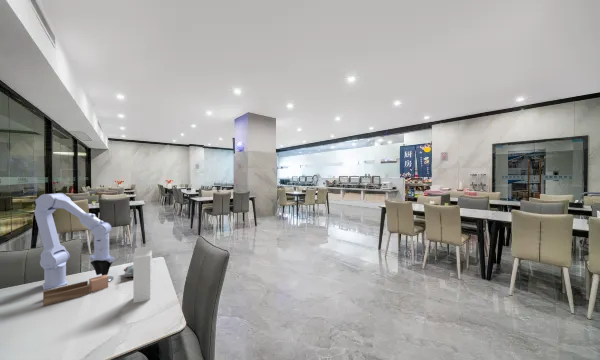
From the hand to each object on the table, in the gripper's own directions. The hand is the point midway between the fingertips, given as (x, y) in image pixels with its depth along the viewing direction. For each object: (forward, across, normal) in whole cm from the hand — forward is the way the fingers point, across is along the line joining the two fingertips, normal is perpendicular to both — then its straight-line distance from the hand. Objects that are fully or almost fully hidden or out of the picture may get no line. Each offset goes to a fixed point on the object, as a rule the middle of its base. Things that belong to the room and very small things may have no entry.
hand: (102, 274), depth 119 cm
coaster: (+3, 0, 0) cm, 3 cm away
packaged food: (+5, +5, +10) cm, 12 cm away
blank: (+3, +7, -6) cm, 10 cm away
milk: (+3, +36, -7) cm, 36 cm away
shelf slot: (+3, +2, -16) cm, 16 cm away
